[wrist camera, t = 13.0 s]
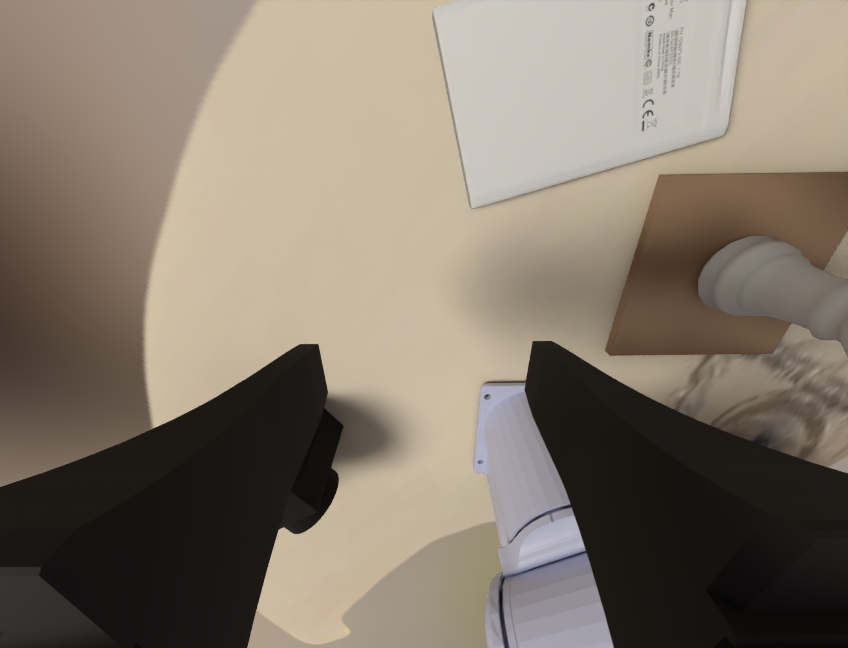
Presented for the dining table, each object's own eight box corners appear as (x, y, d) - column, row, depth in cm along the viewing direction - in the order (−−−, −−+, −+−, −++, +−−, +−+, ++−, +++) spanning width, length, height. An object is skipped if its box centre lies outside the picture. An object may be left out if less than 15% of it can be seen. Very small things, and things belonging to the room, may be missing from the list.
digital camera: (265, 480, 28) (220, 571, 22) (216, 445, 26) (150, 535, 19) (354, 434, 25) (331, 523, 19) (307, 391, 23) (264, 475, 17)
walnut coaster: (763, 348, 21) (772, 353, 21) (605, 350, 21) (609, 355, 21) (867, 171, 16) (883, 172, 16) (659, 174, 16) (667, 175, 16)
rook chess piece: (699, 319, 20) (857, 407, 12) (683, 261, 18) (856, 326, 11) (778, 281, 18) (1002, 355, 11) (769, 216, 17) (1026, 255, 10)
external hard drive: (431, 22, 14) (729, -90, 12) (468, 206, 18) (702, 139, 16) (432, 5, 12) (769, -124, 11) (472, 210, 16) (729, 136, 15)
